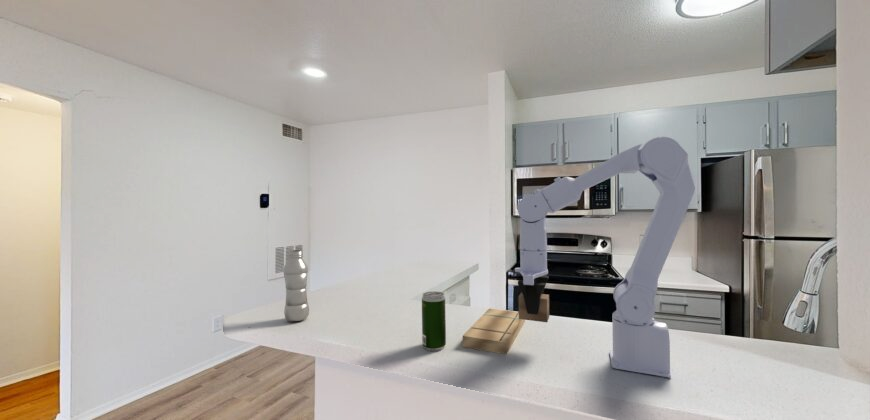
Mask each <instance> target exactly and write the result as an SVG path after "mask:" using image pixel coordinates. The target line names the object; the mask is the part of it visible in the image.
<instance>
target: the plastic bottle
mask: <svg viewBox="0 0 870 420" xmlns="http://www.w3.org/2000/svg"><path fill="white" fill-rule="evenodd" d="M303 252H304V251H303V250H302V249H293V250H288V256H287V258H289V259H288V261H286V263H285V265H284V266H283V269H282V271H283V277H284V283H285V306H284V310H283V315H284V318H285V320H286V321H288V322H299V321H304V320H306V319H307V318H308V317H309V316H310V315H309V314H310V306H309V301H308V295H307V280H308V271H309V267H308V265H307V263H306V262H305V260H304V259H303V257H304V254H303Z"/></svg>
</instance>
